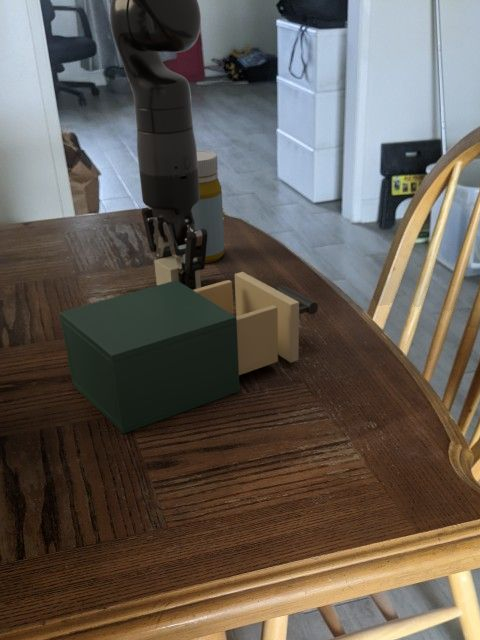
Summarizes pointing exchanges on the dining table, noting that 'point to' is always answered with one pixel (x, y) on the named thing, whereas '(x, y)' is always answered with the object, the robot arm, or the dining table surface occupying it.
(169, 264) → the block
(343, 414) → the dining table surface
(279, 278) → the dining table surface
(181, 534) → the dining table surface
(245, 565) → the dining table surface
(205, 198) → the bottle
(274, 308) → the drawer
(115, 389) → the cabinet
